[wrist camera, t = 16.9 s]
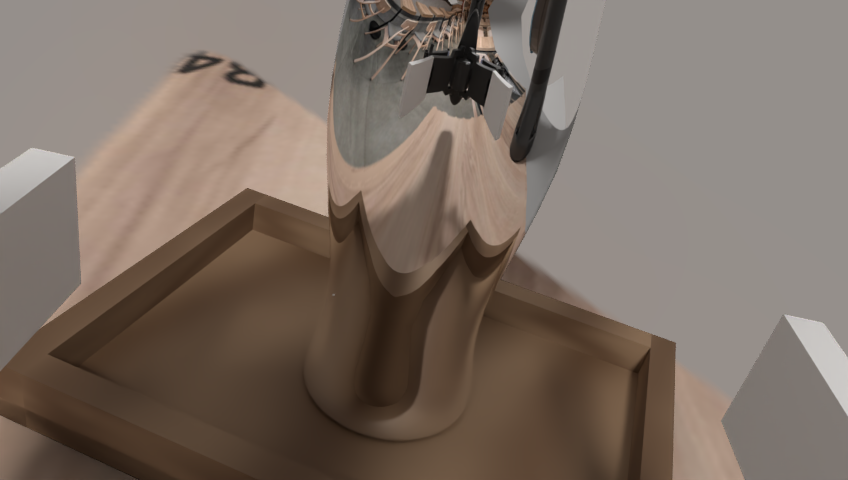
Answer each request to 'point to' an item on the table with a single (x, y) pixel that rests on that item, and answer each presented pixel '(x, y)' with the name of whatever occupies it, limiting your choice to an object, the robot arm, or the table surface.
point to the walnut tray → (284, 380)
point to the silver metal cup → (434, 192)
